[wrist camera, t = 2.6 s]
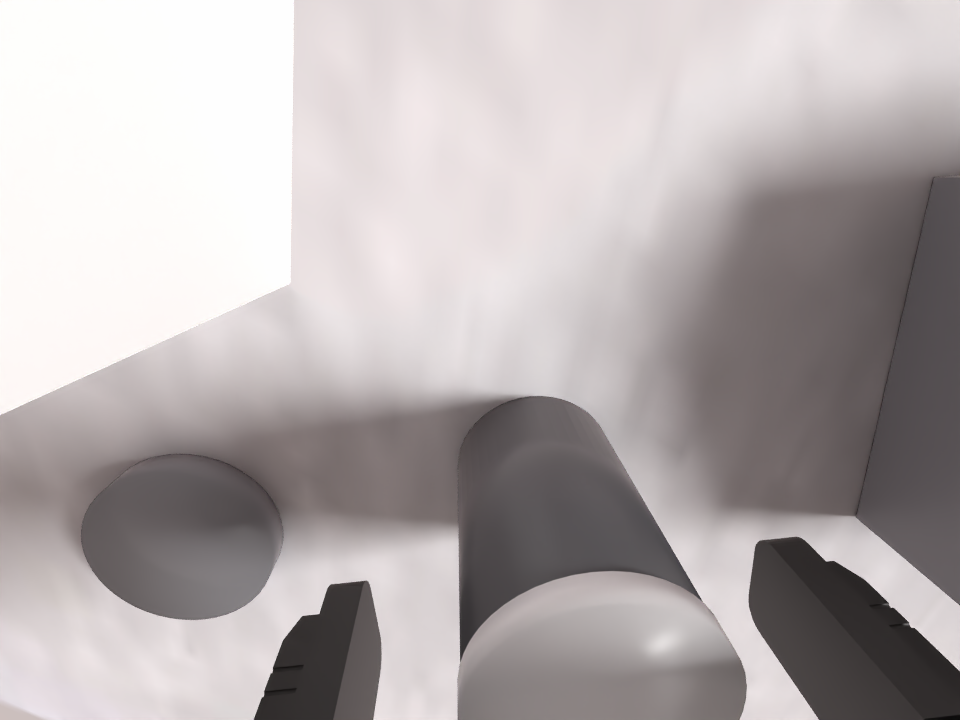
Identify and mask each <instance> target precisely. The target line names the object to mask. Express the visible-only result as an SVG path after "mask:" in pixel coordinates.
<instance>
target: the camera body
mask: <svg viewBox="0 0 960 720" xmlns="http://www.w3.org/2000/svg"><path fill="white" fill-rule="evenodd" d="M856 518H857V519H859V520H860V521H861V522H862V523H863V524H864V525H866V526H867V527H868V528H869V529H870V530H872V531H873V532H874V533H875V534H876V535H877V536H879V537H880V538H881V539H882V540H883V541H885V542H886V543H887V544H888V545H889V546H890V547H892V548H893V549H894V550H895V551H896V552H897V553H899V554H900V555H901V556H902V557H903V558H905V559H906V560H907V561H908V562H909V563H910V564H912V565H913V566H914V567H915V568H916V569H918V570H919V571H920V572H921V573H922V574H923V575H925V576H926V577H927V578H928V579H929V580H931V581H932V582H933V583H934V584H935V585H936V586H938V587H939V588H940V589H941V590H942V591H943V592H945V593H946V594H947V595H948V596H949V597H951V598H952V599H953V600H954V601H955V602H956V603H958V604H959V605H960V175H955V176H944V177H934V179H933V183H932V188H931V192H930V196H929V201H928V205H927V210H926V214H925V218H924V223H923V227H922V231H921V236H920V240H919V244H918V249H917V253H916V258H915V262H914V266H913V271H912V275H911V279H910V284H909V288H908V293H907V297H906V301H905V306H904V310H903V314H902V319H901V323H900V328H899V332H898V336H897V341H896V345H895V349H894V354H893V358H892V363H891V367H890V371H889V376H888V380H887V384H886V389H885V393H884V398H883V402H882V406H881V411H880V415H879V419H878V424H877V428H876V432H875V437H874V441H873V446H872V450H871V454H870V459H869V463H868V467H867V472H866V476H865V481H864V485H863V489H862V494H861V498H860V502H859V507H858V511H857V516H856Z"/></svg>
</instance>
